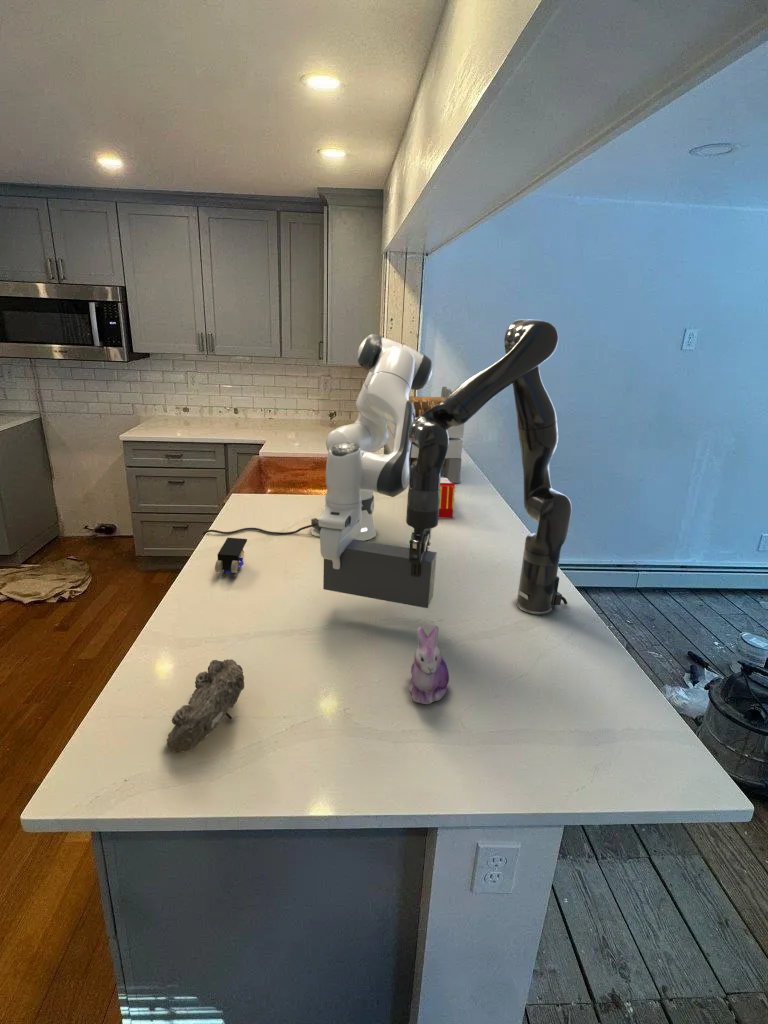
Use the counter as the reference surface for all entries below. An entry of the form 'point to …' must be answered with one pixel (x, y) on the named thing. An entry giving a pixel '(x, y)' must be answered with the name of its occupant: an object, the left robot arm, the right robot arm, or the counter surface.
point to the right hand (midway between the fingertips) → (418, 570)
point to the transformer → (454, 451)
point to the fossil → (206, 705)
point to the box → (381, 574)
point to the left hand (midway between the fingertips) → (342, 561)
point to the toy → (446, 498)
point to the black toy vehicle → (230, 556)
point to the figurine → (428, 669)
